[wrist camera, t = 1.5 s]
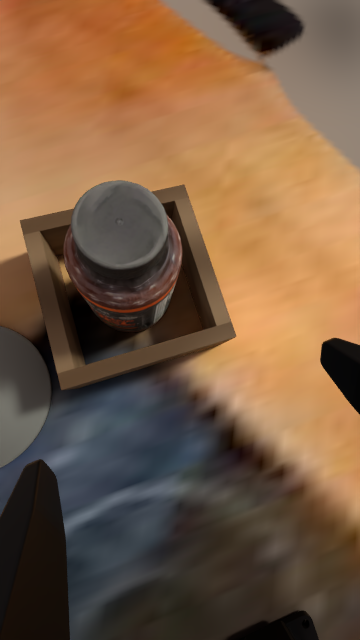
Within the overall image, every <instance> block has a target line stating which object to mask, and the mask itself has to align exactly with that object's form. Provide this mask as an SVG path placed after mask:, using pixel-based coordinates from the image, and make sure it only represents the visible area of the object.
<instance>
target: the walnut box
mask: <svg viewBox="0 0 360 640" xmlns="http://www.w3.org/2000/svg"><path fill="white" fill-rule="evenodd" d="M152 193H153V194H154V195H155V196H156V197H157V198H158V200H159V201H160V203H161V204H162V206H163V207H164V210H165V212H166V215H167V216H168V217H169V218H170V219H171V220H172V222H173V223H174V225H175V227H176V229H177V231H178V233H179V235H180V239H181V244H182V262H181V263H182V266H183V269H184V272H185V275H186V278H187V281H188V284H189V287H190V290H191V293H192V296H193V299H194V302H195V305H196V309H197V312H198V315H199V318H200V321H201V324H202V327H203V330H202V331H198V332H195V333H192V334H188V335H185V336H182V337H178V338H175V339H172V340H168V341H165V342H162V343H158V344H155V345H151V346H148V347H145V348H141V349H138V350H135V351H131V352H128V353H125V354H121V355H118V356H115V357H111V358H108V359H105V360H101V361H98V362H94V363H91V364H88V365H85V361H84V357H83V353H82V349H81V346H80V342H79V338H78V334H77V330H76V326H75V322H74V319H73V315H72V311H71V307H70V303H69V299H68V296H67V292H66V288H65V284H64V280H63V276H62V273H61V269H60V265H59V261H58V257H57V256H59V255H63V254H64V242H65V237H66V234H67V231H68V229H69V226H70V225H71V217H72V214H73V210H74V209H70V210H66V211H61V212H57V213H52V214H47V215H43V216H38V217H34V218H29V219H25V220H20V223H21V227H22V231H23V236H24V240H25V244H26V248H27V252H28V256H29V260H30V264H31V268H32V272H33V276H34V280H35V284H36V289H37V293H38V297H39V301H40V305H41V309H42V313H43V317H44V321H45V325H46V329H47V333H48V337H49V342H50V346H51V350H52V354H53V358H54V362H55V366H56V370H57V374H58V378H59V382H60V386H61V390H69V389H77V388H81V387H84V386H87V385H90V384H94V383H97V382H100V381H103V380H107V379H110V378H113V377H116V376H119V375H123V374H126V373H129V372H132V371H136V370H139V369H142V368H145V367H149V366H152V365H155V364H158V363H162V362H165V361H168V360H171V359H175V358H178V357H181V356H184V355H188V354H191V353H194V352H197V351H201V350H204V349H207V348H210V347H214V346H217V345H220V344H223V343H225V342H227V341H229V340H231V339H233V338H235V337H236V334H235V331H234V328H233V325H232V322H231V319H230V316H229V313H228V311H227V308H226V305H225V302H224V299H223V296H222V293H221V290H220V287H219V284H218V281H217V278H216V275H215V273H214V270H213V267H212V264H211V261H210V258H209V255H208V252H207V249H206V246H205V243H204V240H203V238H202V235H201V232H200V229H199V226H198V223H197V220H196V217H195V214H194V211H193V208H192V205H191V202H190V200H189V197H188V194H187V191H186V188H185V185H180V186H175V187H171V188H166V189H162V190H157V191H153V192H152Z"/></svg>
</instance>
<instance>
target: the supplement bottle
mask: <svg viewBox="0 0 360 640" xmlns="http://www.w3.org/2000/svg"><path fill="white" fill-rule="evenodd" d="M64 262H65V267H66V270H67V272H68V274H69V277H70V279H71V280H72V282H73V284H74V285H75V287H76V288H77V290H78V291H79V293H80V294H81V295H82V297H83V298H84V299H85V300H86V302H87V303H88V305H89V306H90V307H91V309H92V311H93V312H94V313H95V315H96V316H97V317H98V318H99V319H100V320H101V321H102V322H103V323H105V324H106V325H107V326H109V327H111V328H113V329H115V330H119V331H123V332H138V331H142V330H145V329H147V328H149V327H151V326H153V325H154V324H155V323H157V322H158V321H159V320H160V319H161V318H162V316H163V315H164V314H165V312H166V310H167V308H168V306H169V303H170V299H171V296H172V293H173V290H174V287H175V284H176V281H177V278H178V275H179V272H180V268H181V262H182V244H181V239H180V235H179V233H178V231H177V229H176V227H175V225H174V223H173V222H172V220H171V219H170V218H169V217H168V216H167V215H166V212H165V210H164V207H163V206H162V204H161V203H160V201H159V200H158V198H157V197H156V196H155V195H154V194H153V193H152V192H150V191H149V190H148V189H146V188H144V187H143V186H141V185H139V184H136V183H132V182H128V181H119V180H118V181H110V182H105V183H101V184H99V185H97V186H95V187H93V188H91V189H90V190H88V191H87V192H86V193H85V194H84V195H83V196H82V197H81V198H80V199H79V201H78V202H77V204H76V206H75V208H74V210H73V214H72V217H71V225H70V226H69V229H68V231H67V234H66V237H65V242H64Z"/></svg>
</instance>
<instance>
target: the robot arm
mask: <svg viewBox="0 0 360 640" xmlns="http://www.w3.org/2000/svg"><path fill="white" fill-rule="evenodd" d="M320 361H321V365H322V366H323V368H324V369H325V371H326V372H327V373H328V375H329V376H330V377H331V379H332V380H333V381H334V383H335V384H336V385H337V387H338V388H339V389H340V391H341V392H342V393H343V395H344V396H345V398H346V399H347V400H348V401H349V403H350V404H351V405H352V406H353V407H354V409H355V410H356V411H357V412H358V413H359V414H360V345H357V344H354V343H351V342H348V341H345V340H342V339H339V338H332V339H329V340H327V341H324V342H323V344H322V349H321V358H320ZM305 619H306V622H305V623H304V624H302V621H303V620H305ZM0 640H70V631H69V606H68V582H67V557H66V538H65V530H64V523H63V516H62V510H61V503H60V497H59V490H58V484H57V479H56V476H55V474H54V472H53V471H52V470H51V469H50V468H49V466H48V465H47V464H46V463H45V462H44V461H43V460H41V459H39V460H37V461H34V462H32V463H29V464H27V465H26V466H25V468H24V469H23V471H22V473H21V475H20V477H19V479H18V481H17V483H16V486H15V488H14V490H13V492H12V494H11V496H10V498H9V500H8V502H7V504H6V506H5V508H4V510H3V512H2V514H1V516H0ZM240 640H319V639H318V636H317V633H316V630H315V627H314V624H313V621H312V619H311V617H310V616H309V614H308V613H307V612H306V611H299V612H297V613H295V614H293V615H291V616H289V617H287V618H284V619H282V620H280V621H277V622H275V623H273V624H271V625H269V626H267V627H264V628H262V629H260V630H258V631H256V632H254V633H252V634H250V635H247V636H246V637H244V638H242V639H240Z"/></svg>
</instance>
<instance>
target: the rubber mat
mask: <svg viewBox="0 0 360 640" xmlns="http://www.w3.org/2000/svg"><path fill="white" fill-rule="evenodd" d="M51 396H52V384H51V378H50V373H49V370H48V367H47V364H46V362H45V360H44V358H43V356H42V355H41V353H40V352H39V350H38V349H37V348H36V347H35V346H34V345H33V344H32V343H31V342H30V341H29V340H28V339H26V338H25V337H24V336H22V335H20V334H19V333H17V332H15V331H13V330H10V329H8V328H5V327H2V326H0V468H1V467H3V466H4V465H6V464H8V463H10V462H11V461H13V460H14V459H15V458H17V457H18V456H19V455H21V454H22V453H23V452H24V451H25V450H26V449H27V448H28V447H29V446H30V445H31V443H32V442H33V441H34V440H35V438H36V437H37V436H38V434H39V433H40V431H41V429H42V427H43V425H44V423H45V421H46V418H47V416H48V413H49V409H50V404H51Z"/></svg>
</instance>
